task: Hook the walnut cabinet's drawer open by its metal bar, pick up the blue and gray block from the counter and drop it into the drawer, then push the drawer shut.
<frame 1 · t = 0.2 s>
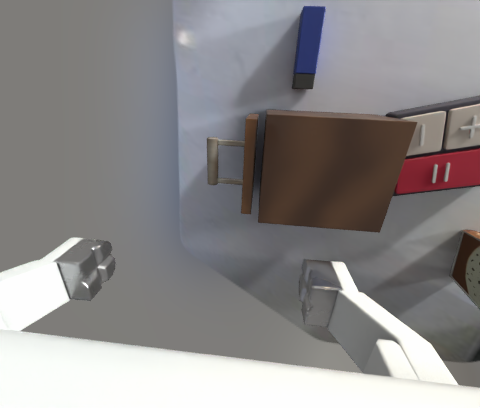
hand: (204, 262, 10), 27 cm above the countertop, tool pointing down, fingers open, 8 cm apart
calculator: (440, 143, 32), on the countertop
cabinet: (312, 157, 34), on the countertop
blue and gray block: (305, 53, 29), on the countertop
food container: (475, 252, 39), on the countertop
drawer: (278, 163, 30), point 5 cm above the countertop, slide at 1.0 cm
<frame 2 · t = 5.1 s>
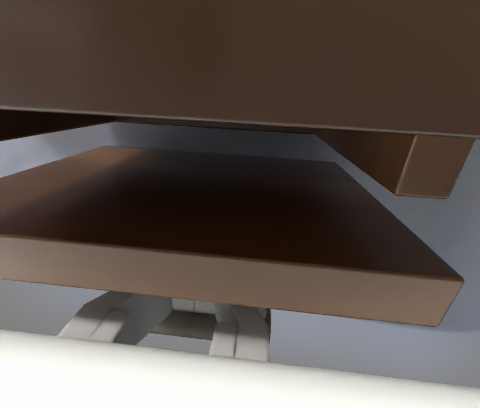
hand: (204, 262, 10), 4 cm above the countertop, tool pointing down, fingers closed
drawer: (191, 72, 6), point 5 cm above the countertop, slide at 2.3 cm, touching gripper
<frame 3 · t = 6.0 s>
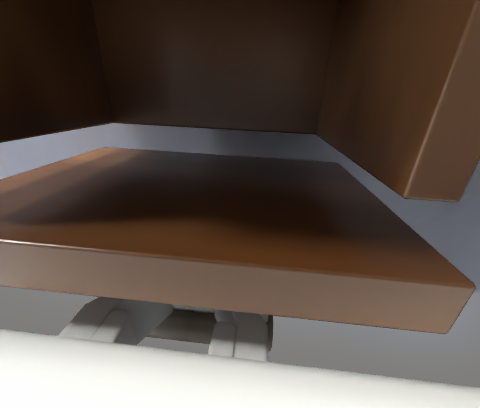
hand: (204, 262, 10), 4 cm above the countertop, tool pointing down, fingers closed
drawer: (190, 72, 6), point 5 cm above the countertop, slide at 6.1 cm, touching gripper
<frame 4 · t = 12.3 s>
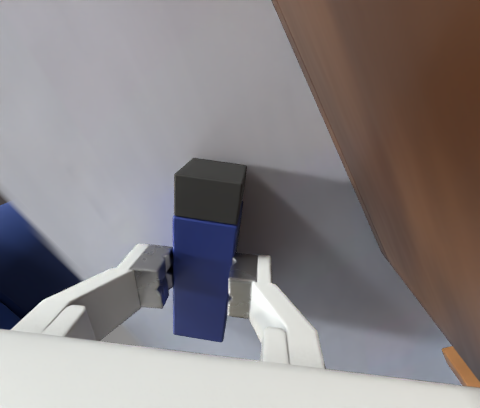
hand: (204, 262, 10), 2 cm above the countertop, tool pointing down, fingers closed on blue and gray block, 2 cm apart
blue and gray block: (213, 240, 11), on the countertop, touching gripper
when the fingers open (11 cm above the countertop, at t = 16.6 s): blue and gray block drops 4 cm and tips over, resting on drawer.
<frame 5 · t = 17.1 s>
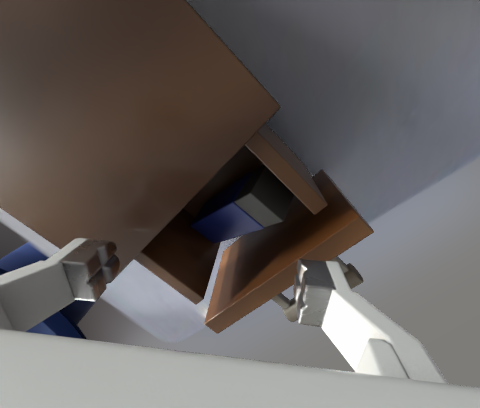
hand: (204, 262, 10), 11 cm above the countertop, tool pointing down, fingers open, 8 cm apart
cabinet: (145, 93, 18), on the countertop
blue and gray block: (221, 198, 15), point 5 cm above the countertop, tilted 93°, touching drawer
drawer: (236, 210, 16), point 5 cm above the countertop, slide at 6.1 cm, touching blue and gray block
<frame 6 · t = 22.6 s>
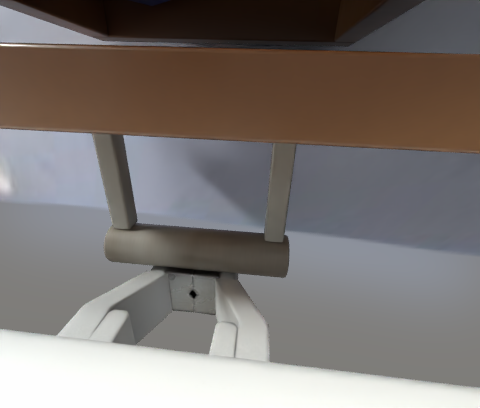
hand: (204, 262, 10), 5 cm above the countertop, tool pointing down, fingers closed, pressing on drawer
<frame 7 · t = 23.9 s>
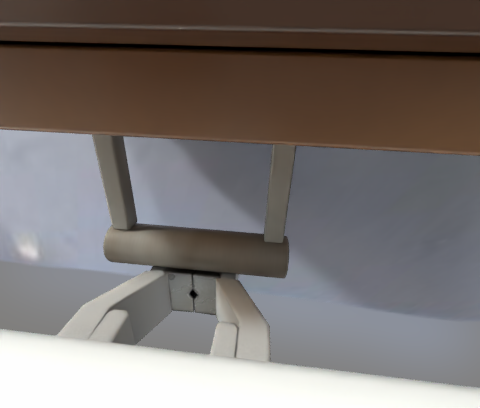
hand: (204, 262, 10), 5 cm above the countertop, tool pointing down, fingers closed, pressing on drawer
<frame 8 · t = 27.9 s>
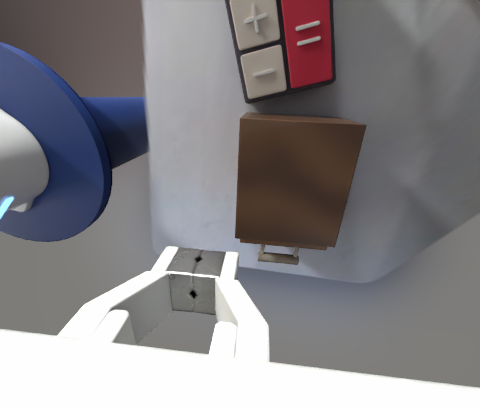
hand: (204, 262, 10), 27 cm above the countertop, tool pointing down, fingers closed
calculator: (278, 27, 28), on the countertop
cabinet: (285, 166, 35), on the countertop
drawer: (284, 204, 33), point 5 cm above the countertop, slide at 0.0 cm, touching cabinet, blue and gray block
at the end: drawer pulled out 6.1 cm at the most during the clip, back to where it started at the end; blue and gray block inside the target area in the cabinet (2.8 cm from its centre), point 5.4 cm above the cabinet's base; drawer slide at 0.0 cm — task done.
